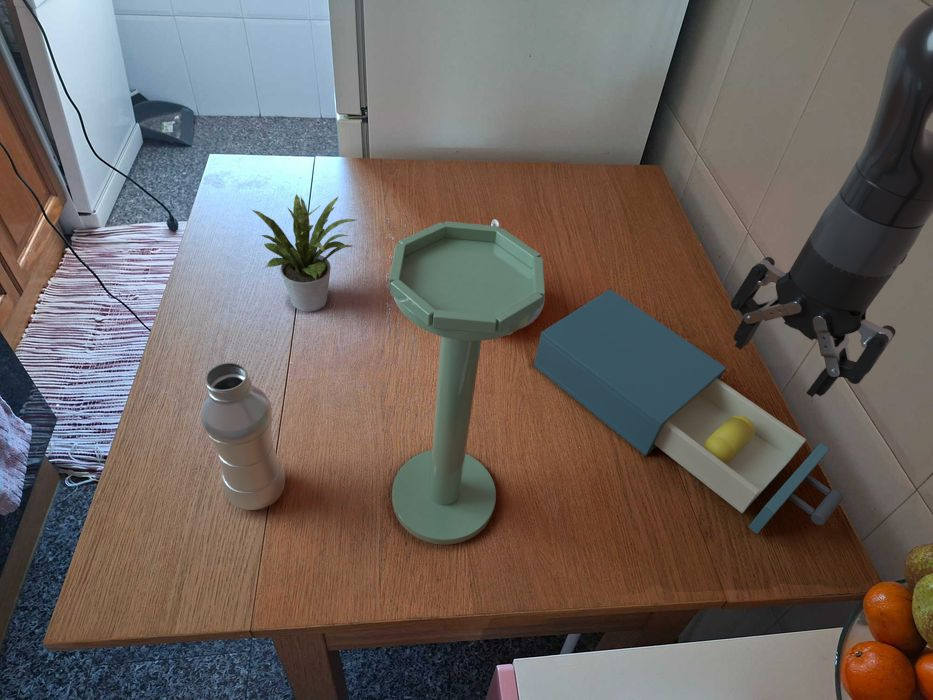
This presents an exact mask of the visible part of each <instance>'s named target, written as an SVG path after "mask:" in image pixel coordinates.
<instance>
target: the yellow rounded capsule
mask: <svg viewBox="0 0 933 700" xmlns="http://www.w3.org/2000/svg"><path fill="white" fill-rule="evenodd" d="M754 433H755V428H754V425H753V423H752V422H751V420H749V419H748V418H747V417H744V416H733V417H731V418H729V419H728V420H727V421H726V422H725V423H724V424H723V425H722V426H721V427H719V428H718V429H717V430H716V431H715V432H714V433H713V434H712V435H711V436H710V437H709V438H708V439H707V440H706V442H705V444H704V448H705V449H706V450H707V451H709V452H710V453H711V454H713V455H714V456H715V457H717V458H718V459H719V460H721V461H722V462H723V463H727V462H729V461H730V460H731V459H732V458H733V457H734V456H735V455H736V454H737V453H738V452H739V451H740V450H741V449H742V448H743V447H744V446H745V445H746V444H747V443H748V442H749V441H750V440H751V439H752V438H753V436H754Z"/></svg>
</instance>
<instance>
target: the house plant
mask: <svg viewBox="0 0 933 700" xmlns="http://www.w3.org/2000/svg"><path fill="white" fill-rule="evenodd" d="M338 198H339V196H336V197H335V198H334V199H333V200H331V201H330V202H329V203H328V204H327V205H326V206H325V207H324V209H323V210H322V213H321V214H320V216H319V218H318V220H317V221H316V223H315V225H314V224H310V216H311V215H312V214H313V213H314V212H315V211H316V210H318V209H320V207H321V206H322V205H321V204H320V205H319V206H317V207H315V209H313V210H311V211H310V212H308V208H307V205H306V203H305V200H304V199H303V198H302V196H300V197H299V195H298V193H296V194H295V196H294V201H293V211H292V209H290V208H289V206H288V207H287V210H288V211H289V213H290V215H291V218H292V219H293V220H292V221H293V223H292V225H293V226H292V231H293V234H294V239H295V241H294V242H295V244H294V245H293V244H292V242H291V241H290V240H289V238H288V236H287V235H286V234H285V232H284V231H283V229H282V228H281V227H280V225H279V224H278V223H277V222H276V221H275V220H274V219H272V218H270V217H269V216H267V215H265V214H264V213H263V212H261V211H258V210H254V209H251V211H252V212H253V213H255V214H256V215H257V216H258V217H259V218H260V219H261V220H262V221H263V222H264V223H265V224H266V226H268V228H270V230H271V231H272V234H273V236H274V237H273V236H270V235H268V234H262V235H261V237H263V238H266V239H269V240H270V241H271V242H267V243H264V244H263V245H264V247H265V248H266V249H267V250H268V251H270V252H272V253H273V254H275V255H278V256H279V257H273V258H272V259H270V260H269V261H268V262H267V264H266V265H265V267H264V269H266V268H272V267H273V268H274V267H278V266H280V267H279V273H280V275H281V277H282V281H283V283H284V285H285V288H286V291H287V295H288V296H289V299H290V302H291V304H292V307H294V308H295V309H297V310H300V311H301V312H307V313H308V312H309V313H310V312H316V311H318V310H320V309H322V308H323V307H325V305H326V304H327V302H328V294H329V287H330V286H329V284H330V278H331V277H330V275H331V268H332V267H331V263H330V261H329V260H328V259H329V258H330V257H332V255H333V254H335V253H337V252H339V251H340V250H343V249H345V248H352V247H353V245H352V244H344V243H343V242H341V241H338V240H337V241H336V239H338V238H340V237H350V235H348V234H343V233H342V234H340V233H339V234H338V233H337V234H335V235H333V236H331V237H330V238H328V240H326V241H325V242H324V244H323V245H322V243H321V241H322V240H323V239H324V238H325V236H326V235H327V234H328V233H329V232H331V231H332V230H333V229H335V228H337V227H338V226H340V225H342V224H346V223H351V222H355V221H357V219H355V218H344V219H339V220H336V221H334V222H332V223H330V224H329V225H328V226H327V227H326V228H324V226H325V225H326V224H327V223H328V220H329V219H328V218H329V216H330V214H331V213H332V211H334V209H335V207H334V205H335V204H336V202H337V201H338ZM312 229H313V232H312V233H311V231H312ZM310 235H311V237H310ZM334 240H335V241H334ZM330 249H332V250H330ZM327 250H330V252H329V253H327V255H326V256H323V255H322V254H323V253H326V251H327Z"/></svg>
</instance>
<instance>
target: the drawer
mask: <svg viewBox="0 0 933 700" xmlns="http://www.w3.org/2000/svg"><path fill="white" fill-rule="evenodd" d="M733 416H744V417H747V418H748V419H749V420H751V422H752V423H753V425H754V428H755V433H754V436H753V438H752V439H751V440H750V441H749V442H748V443H747V444H746V445H745V446H744V447H743V448H742V449H741V450H740V451H739V452H738V453H737V454H736V455H735V456H734V457H733V458H732V459H731V460H730V461H729V462H727V463H723V462H722V461H721V460H719V459H718V458H717V457H715V456H714V455H713V454H711V453H710V452H709V451H707V450H706V449H705V448H704V444H705V442H706V440H707V439H708V438H709V437H710V436H711V435H712V434H713V433H714V432H715V431H716V430H717V429H718V428H719V427H721V426H722V425H723V424H724V423H725V422H726V421H727V420H728V419H729V418H731V417H733ZM806 441H807V438H805V437H803V436H802V435H801V434H799V433H797V432H796V431H794V429H792V428H791V427H789V426H788V425H786V424H785V423H783V422H782V421H780V420H779V419H777V418H775V416H773V415H771V414H770V413H768V412H767V411H766V410H764V409H763V408H761V407H760V406H758V405H757V404H756V403H754V402H753V401H752V400H750V399H749V398H747V397H745V396H744V395H743V394H741V393H739V392H738V391H736V390H735V389H734V388H732V387H731V386H730V385H728V384H727V383H725V382H724V381H723V380H722V379H720V380H719V379H718V378H717V379H716V380H715V381H713V382H712V383H711V384H710V385H709V386H708V387H706V388H705V389H704V390H703V391H702V392H701V393H699V394H698V395H697V396H696V397H695V398H694V399H693V400H691V401H690V402H689V403H688V404H687V405H686V406H684V407H683V408H682V409H681V410H680V411H679V412H678V413H676V414H675V415H674V416H673V417H672V418H671V419H669V420H668V421H667V422H666V423H665V424H664V425H663V427H662V429H661V431H660V433H659V435H658V437H657V439H656V441H655V443H654V444H655V445H656V446H657V447H656V448H658V449H659V450H661V451H662V452H663V453H665V454H666V455H667V456H668V457H669V458H671V459H672V460H674V462H676V463H677V464H678V465H680V466H681V467H682V468H683V469H685V470H686V471H687V472H688V473H690V474H692V476H694V477H695V478H696V479H698V480H699V481H700V482H701V483H703V484H704V485H705V486H707V487H708V488H709V489H710V490H711V491H713V492H714V493H715V494H717V496H719V497H720V498H721V499H723V500H724V501H726V503H728V504H729V505H730V506H732V507H733V508H734V509H735V510H737V511H738V512H739V513H741V514H744V513H745V511H746V510H747V509H748V508H749V507H750V506H751V505H752V504H753V502H754V501H755V500H757V498H758V497H759V496H760V495H761V494H762V492H763V491H764V490H765V489H766V488H767V487H768V486H769V485H770V484H771V483H772V481H773V480H775V478H776V477H777V476H778V475H779V474H780V473H781V471H782V470H784V468H786V466H787V465H788V464H789V463H790V461H791V460H793V458H794V457H795V455H796V454H797V453H798V452H799V450H800V449H801V448H802V446H803V445H804V444H805V442H806ZM829 451H830V448H829V447H828V446H826V444H824V443H822V442H820V443H819V444H818V445H817V446H816V447H815V449H813V451H811V453H810V454H809V455H808V456H807V457H806V458H805V460H804V461H803V462H802V463H801V464H800V465H799V467H798V468H797V469H796V470H795V471H794V472H793V473H792V474H791V476H790V477H789V478H788V479H787V480H786V481H785V482H784V483H783V485H782V486H781V487H780V488H779V489H778V490H777V492H776V493H774V495H773V496H772V497H771V498H770V500H769V501H768V502H767V503H766V504H765V505H764V506H763V508H762V509H761V510H760V511H759V513H758V514H757V515H756V516H755V518H754V519H753V520H752V521H751V523H750V524H749V525H748V528H749V529H750V530H751V531H752V532H753V533H755V534H756V535H758V534H759V533H760V532H761V531H762V530H763V529H764V527H765V526H766V525H767V524H768V523H769V521H770V520H771V519H772V518H773V517H774V515H775V514H776V513H777V512H778V511H779V510H780V508H781V507H782V506H783V505H784V504H785V503H786V501H788V500H789V501H790V502H792V503H794V504H795V505H796V506H798V507H799V508H800V509H801V510H803V511H804V512H805V513H807V514H808V515H809V516H810V520H811V521H812V522H813V523H814V524H815V525H818V526H822V525H824V524H826V522H827V521H828V519H829V518H830V517H831V516H832V514H833V513H834V512H835V510H836V509H837V508H838V507H839V505H840V504H841V503H842V501H843V500H844V494H843V493H842V492H841V491H839V490H837V489H830V488H829V487H827V486H826V485H825V484H823V483H822V482H820V481H818V480H817V479H816V478H815V477H813V476H812V475H811V473H812V471H813V470H814V469H815V468H816V467H817V465H818V464H819V463H820V462H821V460H822V459H823V458H824V457H825V455H827V453H828V452H829ZM804 481H806V482H807V483H809V484H810V485H812V487H814V488H815V489H817V490H818V491H819V492H820V493H822V494H824V495H825V497H824V498H823V500H822V501H820V503H819V505H818V506H817V507H816V508H814V507H812V506H811V505H809V503H807V502H805V501H804V500H803V499H802V498H800V497H799V496H797V495H796V494H795V493H794V492H795V491H796V490H797V489H798V487H799V486H800V485H801V484H802V483H803V482H804Z"/></svg>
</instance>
